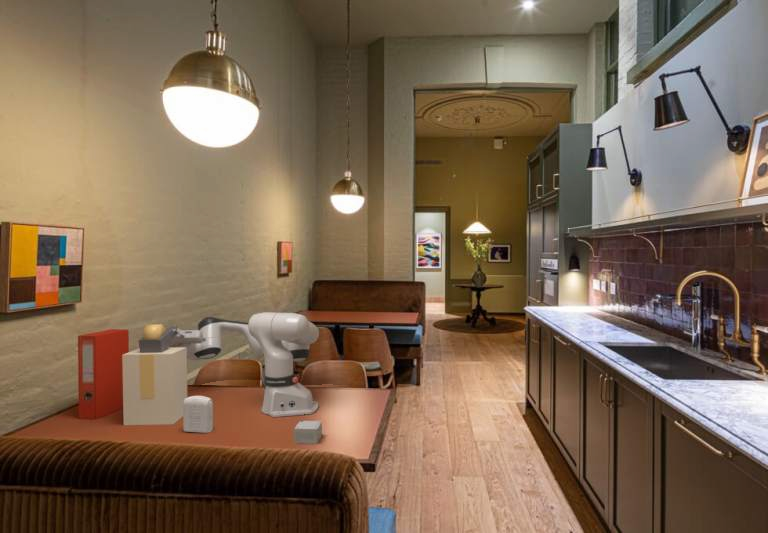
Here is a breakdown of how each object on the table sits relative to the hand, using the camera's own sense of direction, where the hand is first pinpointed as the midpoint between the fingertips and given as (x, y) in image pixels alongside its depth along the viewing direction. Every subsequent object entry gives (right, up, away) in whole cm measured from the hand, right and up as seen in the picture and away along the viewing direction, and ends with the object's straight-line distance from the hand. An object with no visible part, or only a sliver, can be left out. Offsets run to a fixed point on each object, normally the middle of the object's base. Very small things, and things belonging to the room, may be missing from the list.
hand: (171, 330), depth 188 cm
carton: (+1, -32, -14) cm, 35 cm away
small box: (+62, -32, -36) cm, 79 cm away
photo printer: (+22, -32, -27) cm, 47 cm away
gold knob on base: (0, -4, -7) cm, 8 cm away
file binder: (-24, -32, -5) cm, 41 cm away
